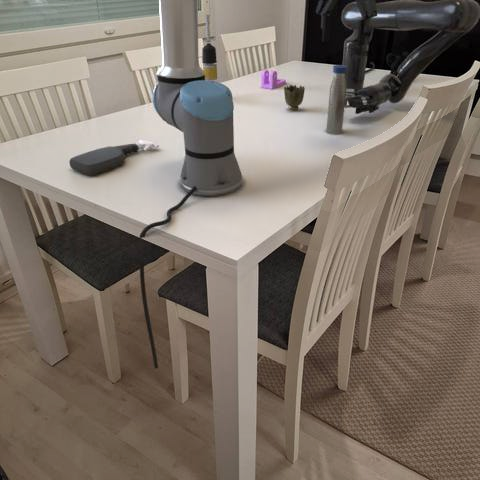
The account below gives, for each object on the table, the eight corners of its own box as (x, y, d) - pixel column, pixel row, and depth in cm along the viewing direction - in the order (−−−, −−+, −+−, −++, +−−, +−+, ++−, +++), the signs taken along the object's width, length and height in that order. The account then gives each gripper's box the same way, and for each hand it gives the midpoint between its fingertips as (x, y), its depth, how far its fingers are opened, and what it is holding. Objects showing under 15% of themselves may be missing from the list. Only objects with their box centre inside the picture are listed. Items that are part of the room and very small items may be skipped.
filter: (220, 99, 177) (217, 15, 161) (206, 100, 176) (202, 16, 160) (215, 96, 182) (212, 14, 166) (202, 97, 180) (197, 14, 164)
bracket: (272, 88, 190) (272, 71, 187) (261, 87, 193) (261, 70, 189) (288, 83, 199) (288, 66, 195) (277, 81, 202) (278, 65, 198)
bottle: (338, 135, 139) (345, 70, 129) (323, 132, 141) (329, 68, 131) (344, 130, 143) (350, 67, 133) (329, 128, 145) (335, 65, 135)
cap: (344, 74, 130) (344, 68, 129) (330, 72, 132) (331, 67, 131) (348, 71, 133) (349, 65, 132) (335, 70, 135) (336, 64, 134)
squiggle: (400, 92, 202) (376, 71, 205) (417, 76, 202) (392, 56, 205) (405, 81, 191) (380, 59, 194) (423, 64, 191) (397, 42, 194)
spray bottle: (67, 168, 120) (139, 144, 136) (91, 178, 114) (163, 151, 130) (65, 157, 118) (137, 134, 134) (89, 167, 112) (162, 142, 128)
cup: (280, 111, 162) (280, 88, 158) (287, 106, 167) (288, 84, 163) (299, 113, 159) (300, 90, 155) (306, 108, 164) (308, 85, 160)
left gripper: (306, -46, 122) (302, 40, 133) (384, -49, 107) (371, 49, 119) (323, -46, 126) (317, 37, 138) (399, -49, 112) (386, 45, 123)
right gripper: (352, 83, 153) (326, 92, 143) (391, 89, 145) (366, 99, 135) (350, 105, 157) (324, 115, 147) (387, 112, 149) (363, 124, 139)
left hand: (342, 43), depth 128 cm, fingers open, 11 cm apart
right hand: (344, 108), depth 141 cm, fingers open, 8 cm apart
